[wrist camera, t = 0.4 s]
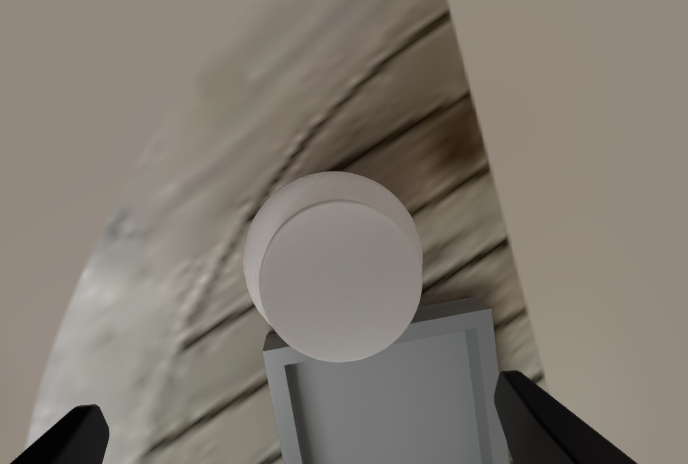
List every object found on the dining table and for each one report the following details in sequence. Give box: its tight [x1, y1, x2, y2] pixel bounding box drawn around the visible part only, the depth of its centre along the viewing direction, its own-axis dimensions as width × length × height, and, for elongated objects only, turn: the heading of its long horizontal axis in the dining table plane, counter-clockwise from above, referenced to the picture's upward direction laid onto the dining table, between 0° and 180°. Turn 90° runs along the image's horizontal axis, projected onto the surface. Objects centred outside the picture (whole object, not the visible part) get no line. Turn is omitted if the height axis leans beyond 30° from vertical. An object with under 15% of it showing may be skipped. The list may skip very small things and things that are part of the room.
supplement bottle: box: [243, 171, 423, 362], centre depth 18 cm, size 7×7×13 cm
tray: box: [263, 297, 509, 464], centre depth 24 cm, size 13×13×2 cm
